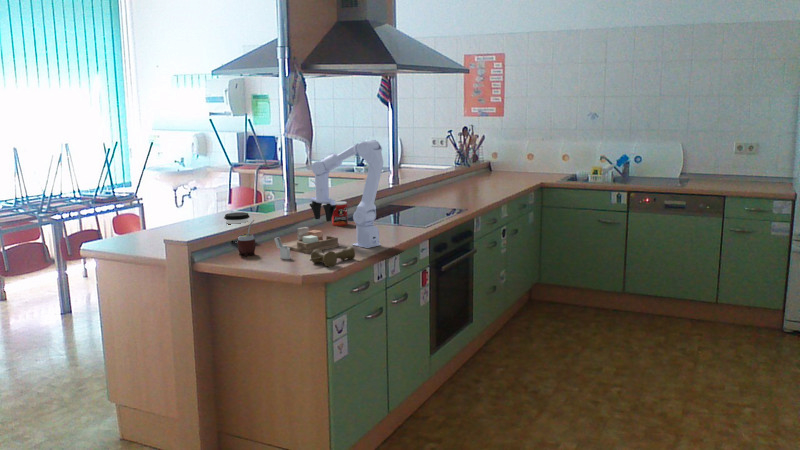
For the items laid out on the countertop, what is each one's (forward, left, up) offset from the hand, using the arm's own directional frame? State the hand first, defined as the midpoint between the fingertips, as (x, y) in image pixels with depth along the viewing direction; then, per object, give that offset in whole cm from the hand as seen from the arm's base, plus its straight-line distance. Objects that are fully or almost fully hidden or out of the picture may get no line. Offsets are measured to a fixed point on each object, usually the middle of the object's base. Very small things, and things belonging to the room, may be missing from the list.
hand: (323, 220), depth 300 cm
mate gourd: (+3, +37, -10) cm, 38 cm away
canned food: (+25, -31, -10) cm, 41 cm away
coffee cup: (+30, +24, -10) cm, 40 cm away
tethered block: (0, +8, -8) cm, 11 cm away
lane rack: (-4, +11, -9) cm, 15 cm away
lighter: (-12, +31, -10) cm, 35 cm away
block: (-10, +15, -8) cm, 20 cm away
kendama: (-33, +24, -10) cm, 42 cm away
